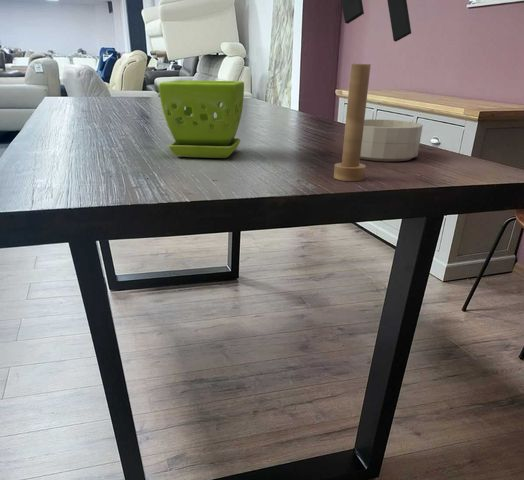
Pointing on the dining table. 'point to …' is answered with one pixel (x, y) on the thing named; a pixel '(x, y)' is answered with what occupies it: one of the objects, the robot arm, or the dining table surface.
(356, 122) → the muddler
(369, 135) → the bowl
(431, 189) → the dining table surface
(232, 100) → the flower pot
